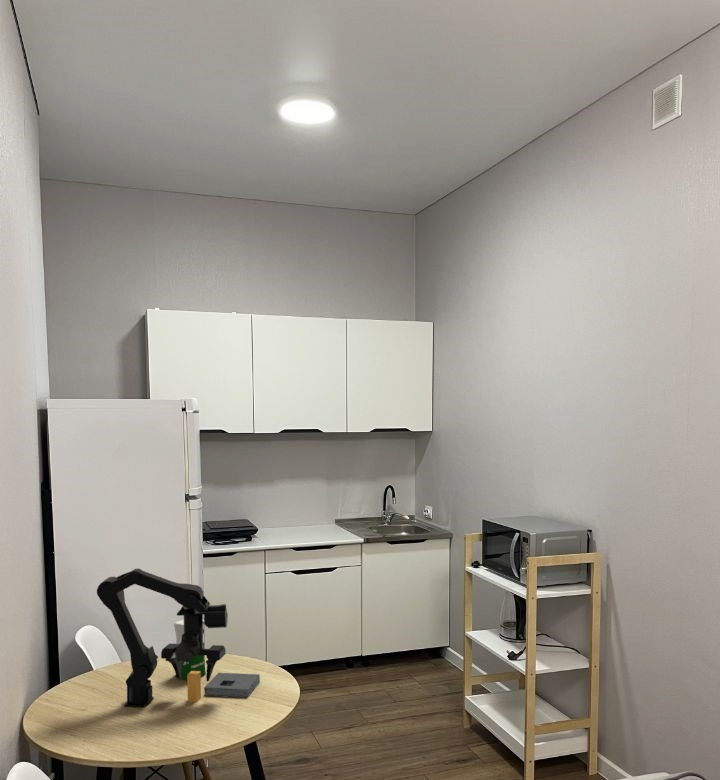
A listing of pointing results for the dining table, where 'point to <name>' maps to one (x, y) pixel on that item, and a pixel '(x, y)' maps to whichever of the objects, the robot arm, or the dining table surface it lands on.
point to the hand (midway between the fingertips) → (193, 680)
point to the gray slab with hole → (232, 685)
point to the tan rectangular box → (194, 686)
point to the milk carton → (197, 661)
